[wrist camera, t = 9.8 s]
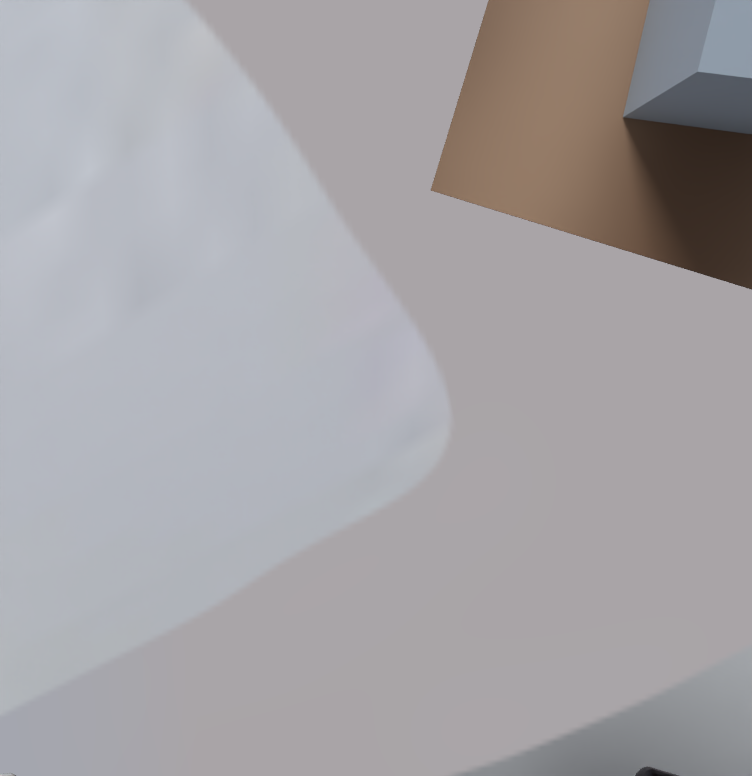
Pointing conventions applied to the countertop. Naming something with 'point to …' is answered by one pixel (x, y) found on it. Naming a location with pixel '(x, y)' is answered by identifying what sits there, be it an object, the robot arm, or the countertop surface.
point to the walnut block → (593, 141)
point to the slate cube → (695, 65)
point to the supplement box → (7, 774)
